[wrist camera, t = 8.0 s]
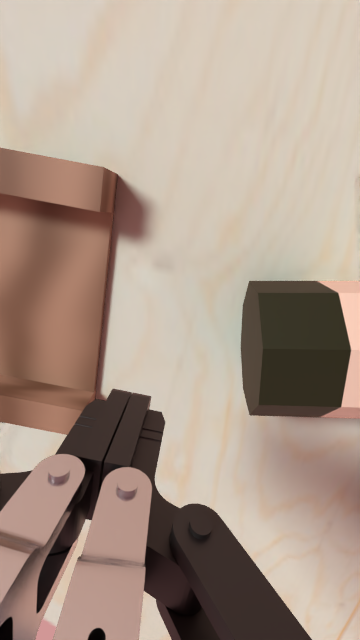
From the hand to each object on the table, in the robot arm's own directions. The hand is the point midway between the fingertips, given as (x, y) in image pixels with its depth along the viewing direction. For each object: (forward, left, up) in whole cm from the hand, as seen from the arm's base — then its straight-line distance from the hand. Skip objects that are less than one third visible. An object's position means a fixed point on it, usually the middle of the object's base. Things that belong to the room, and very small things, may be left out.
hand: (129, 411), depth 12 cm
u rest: (+10, -3, -12) cm, 15 cm away
